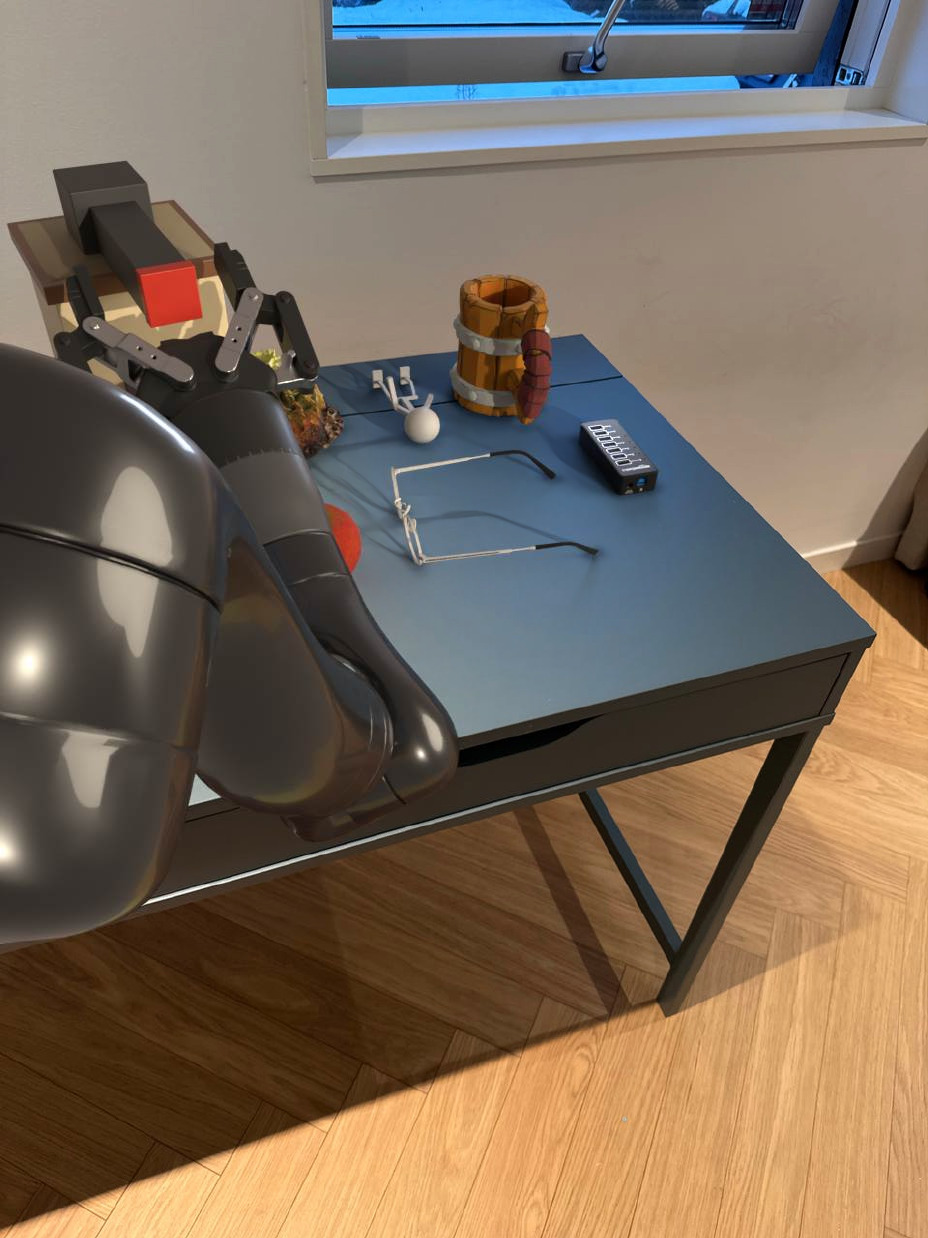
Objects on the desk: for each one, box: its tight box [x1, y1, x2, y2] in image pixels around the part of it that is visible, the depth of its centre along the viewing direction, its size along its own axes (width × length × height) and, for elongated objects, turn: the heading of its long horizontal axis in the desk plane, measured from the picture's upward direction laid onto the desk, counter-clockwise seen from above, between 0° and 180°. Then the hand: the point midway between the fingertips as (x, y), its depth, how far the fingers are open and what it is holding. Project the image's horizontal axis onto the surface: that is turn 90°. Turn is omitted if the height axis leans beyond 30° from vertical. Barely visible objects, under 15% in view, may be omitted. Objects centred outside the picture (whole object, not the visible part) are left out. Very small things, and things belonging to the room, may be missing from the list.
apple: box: [324, 502, 362, 574], centre depth 80 cm, size 8×8×8 cm
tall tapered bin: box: [6, 199, 229, 396], centre depth 73 cm, size 12×12×30 cm
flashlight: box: [52, 160, 203, 328], centre depth 58 cm, size 5×17×4 cm, turn 30°
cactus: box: [250, 348, 345, 461], centre depth 97 cm, size 17×16×10 cm
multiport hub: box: [578, 418, 659, 496], centre depth 98 cm, size 4×11×2 cm, turn 18°
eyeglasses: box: [390, 449, 600, 566], centre depth 88 cm, size 16×19×5 cm
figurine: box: [371, 365, 441, 444], centre depth 103 cm, size 6×6×15 cm
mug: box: [448, 274, 553, 426], centre depth 102 cm, size 11×16×15 cm, turn 24°
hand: (150, 262), depth 55 cm, fingers open, 8 cm apart
